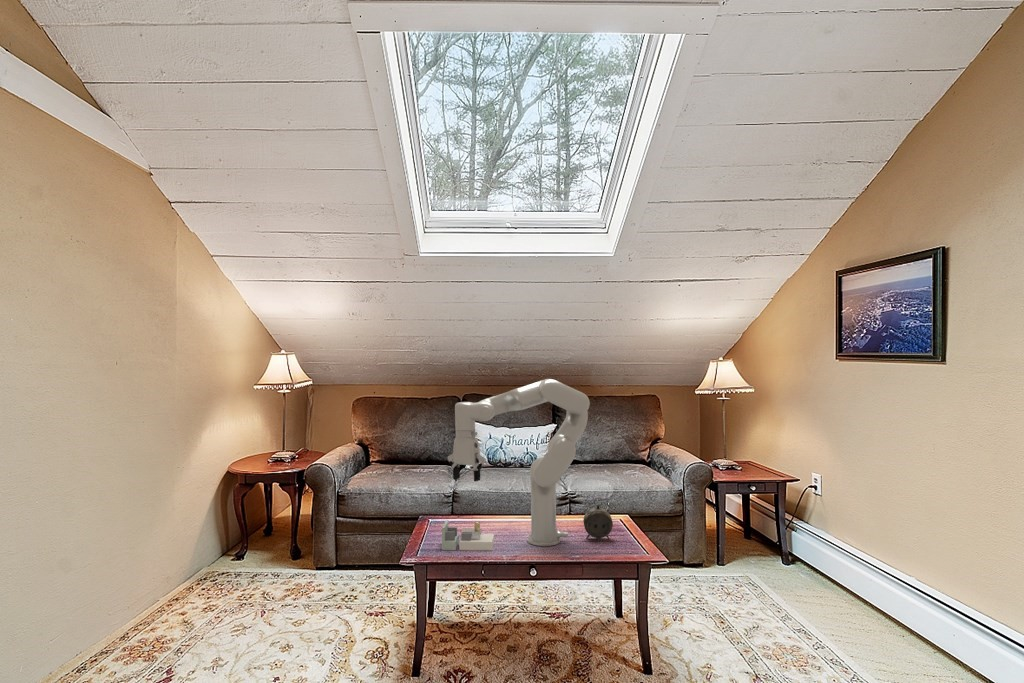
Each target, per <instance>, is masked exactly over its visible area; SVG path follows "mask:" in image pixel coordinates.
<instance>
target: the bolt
mask: <svg viewBox="0 0 1024 683" xmlns="http://www.w3.org/2000/svg"><path fill="white" fill-rule="evenodd" d="M473 524H474V528H470V529H464V528H462V530H461V533H471V539H480V538H481V534H482V528H481V525H480V524H481V522H480V521H474V523H473Z"/></svg>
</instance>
